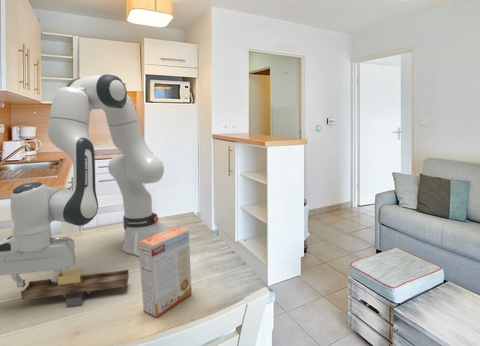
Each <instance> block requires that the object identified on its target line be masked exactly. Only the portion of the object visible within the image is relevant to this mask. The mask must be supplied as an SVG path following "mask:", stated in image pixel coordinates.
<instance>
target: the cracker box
mask: <svg viewBox="0 0 480 346" xmlns="http://www.w3.org/2000/svg"><path fill="white" fill-rule="evenodd" d="M138 243H139V256H138V257H139V268H140V279H141V280H140V282H141V283H140V284H141V293H142V305H143V307H142V308H143V312H145V313H147V314H149V315H150V316H153V317H155V318H156V319H157V318H159V316H160V317H161V315H163V314H165V313H166V312H167V311H169V310H171V308H173V307H174V306H176V305H178V304H179V303H180V302H182V301H183V300H184V299H186V298H188V297H189V296H191V295H192V274H191V253H190V252H191V249H190V230H189V229H185V228H182V227H178V226H174V227H172V228H169V230H167V231H164V232H162V233H159V234H157V235H154V236H151V237H149V238H146V239H144V240H141V241H139V242H138Z"/></svg>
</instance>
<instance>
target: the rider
mask: <svg viewBox="0 0 480 346" xmlns="http://www.w3.org/2000/svg"><path fill="white" fill-rule="evenodd" d="M84 275H85V272H84V268H75V269H62V271H61V272H60V274H59V275H58V277H57V280H58V286H66V285H74V284H82V283H83V282H84Z"/></svg>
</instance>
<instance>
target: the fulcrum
mask: <svg viewBox="0 0 480 346" xmlns="http://www.w3.org/2000/svg"><path fill="white" fill-rule="evenodd" d="M86 296H87V292H79V293H71V294H68V295H67V297H66V298H65V304H66V308H74V307H80V306H83V305H84V302H85V300H86V298H87V297H86Z"/></svg>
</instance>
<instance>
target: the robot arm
mask: <svg viewBox="0 0 480 346" xmlns="http://www.w3.org/2000/svg"><path fill="white" fill-rule="evenodd" d="M100 109H102V111H103V112H104V114H105V118H106V122H107V126H108V130H109V134H110V137H111V140H112V143H113V146H115V148H117V149H118V150H119V151H120V152H121V153H122V154H120V155H115V156H112V158H111V159H110V161H109V162H108V167H107V168H108V172H109V174H110V176H111V177H113V179H114V180H115V182H116V183H117V187H118V188H119V191H120V193H121V197H122V200H123V201H122V203H123V204H122V205H123V214H124V215H123V218H122V222H123V224H122V225H123V229H124V236H123V244H122V248H121V249H122V251H123V252H124V253H126V254H131V255H134V256H136V257H139V243H138V242H139V241H141V240H144V239H146V238H149V237H151V236H154V235H157V234H159V233H162V232H164V231H167V230H169V229H170V228H169V227H168V226H166V225H165V224H163V223H162V222H161V221H159V219H160V218H159V216H158V214H157V213H154V212H153V200H152V199H153V197H152V194H151V193H150V192H149V191H148V190H147V188H146V187H145V186H144V184H153V183H157V182H160V181H161V180H162V179H163V176H164V173H165V167H164V166H165V165H164V163H163V162H162V161H161V160H160V159H159V158H157V156H156V155H155V154H154V153H153V152H152V150H151V149H150V148H149V146H148V145H147V143H146V140H145V139H144V136H143V133H142V132H143V131H142V129H141V125H140V123H139V119H138V115H137V112H136V108H135V106H134V104H133V102H132V99H131V97H130V96H129V95H128V92H127V87H126V86H125V83H124V82H123V80H122V79H121V78H120V77H119V76H116V75H114V74H109V73H108V74H107V73H106V74H93V75H88V76H85V77H79V78H75V79H73V80H71V81H69V82H68V83H67V85H66V86H63V87H60V88H59V89H58V90H57V91H56V92H55V94H54V97H53V99H52V103H51V106H50V111H49V117H48V124H47V135H48V139H49V141H50V143H52V144H53V145H54V147H56V148H57V149H59V150H60V151H62V152H64V153H65V154H66V155H68V156H69V158H70V159H71V161H72V165H73V166H72V167H73V168H72V171H73V173H72V175H73V177H72V178H73V180H72V181H73V187H72V190H69V189H62V188H55V187H50V186H47V185H45V184H44V183H42V182H36V181H35V182H34V181H33V182H26V183H22V184H21V185H18V186H16V187H15V188H13V189H12V191H11V194H10V201H9V203H10V216H11V220H12V222H13V226H14V227H13V234H12V235H10V236H6V237H4V238H3V239H1V240H0V277H1V276H11V278H10V279H12V280H13V281H14V282H15V283H16V287H17V289H18V288H24V287H25V286H26V278H22V277H21V276H20V274H29V273H39V272H49V271H54V274H55V275H52V277H51V278H50V279H51V281H52V282H51V283H52V284H55V283H58V280H57V277H58V275H59V274H60V272H61V271H63V270H69V269H72V268H73V267H74V266H75V264H76V262H77V258H76V251H75V240H74V239H73V238H70V237H68V236H64V237H53V236H52V235H53V234H52V227H51V226H52V225H51V223H52V222H54V221H56V222H61V223H67V224H70V225H74V226H77V227H82V226H85V225H87V224H89V223H90V222H91V221H92V220H93V219H94V218H95V217H96V216H97V213H98V210H99V201H98V196H97V190H96V189H97V187H96V157H95V156H96V155H95V146H94V145H93V142H92V141H91V140H90V135H89V134H90V133H89V127H90V117H91V116H90V114H91V112H92V110H100Z"/></svg>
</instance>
